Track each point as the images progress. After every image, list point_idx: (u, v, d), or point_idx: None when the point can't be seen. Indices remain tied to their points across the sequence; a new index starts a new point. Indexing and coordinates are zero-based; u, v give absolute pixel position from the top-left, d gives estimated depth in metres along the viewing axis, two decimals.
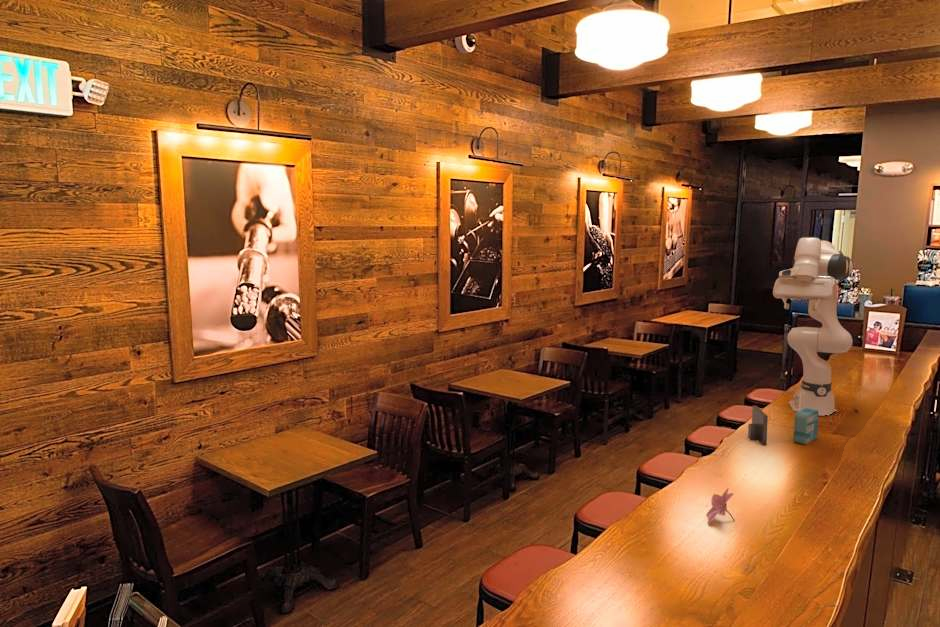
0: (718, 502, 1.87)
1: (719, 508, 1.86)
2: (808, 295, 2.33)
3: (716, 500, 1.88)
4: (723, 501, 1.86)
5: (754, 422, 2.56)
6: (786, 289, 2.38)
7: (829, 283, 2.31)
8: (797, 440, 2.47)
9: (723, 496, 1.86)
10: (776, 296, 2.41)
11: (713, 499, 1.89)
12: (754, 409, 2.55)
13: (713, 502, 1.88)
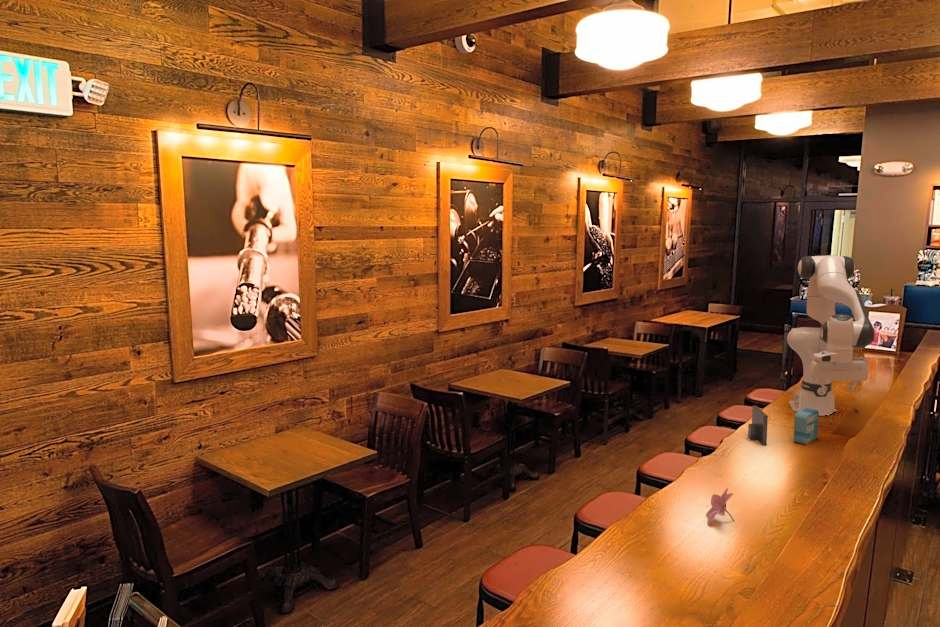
0: (717, 502, 1.87)
1: (719, 508, 1.86)
2: (846, 379, 2.42)
3: (715, 500, 1.88)
4: (723, 501, 1.86)
5: (754, 422, 2.56)
6: (825, 374, 2.43)
7: (865, 367, 2.40)
8: (797, 440, 2.47)
9: (722, 496, 1.86)
10: None
11: (712, 499, 1.89)
12: (754, 409, 2.55)
13: (712, 502, 1.88)
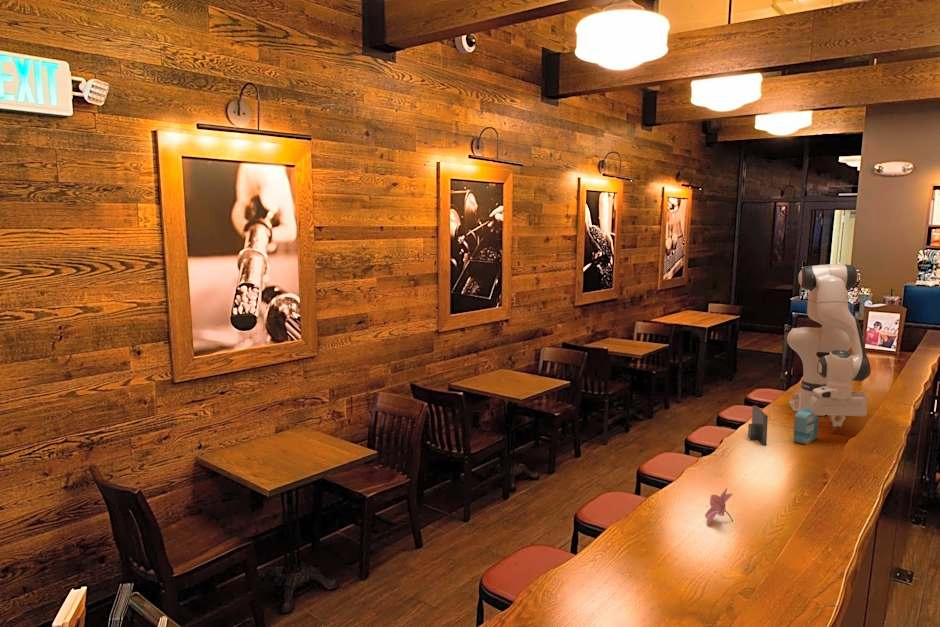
0: (717, 502, 1.87)
1: (718, 508, 1.86)
2: (846, 414, 2.45)
3: (714, 500, 1.88)
4: (722, 501, 1.85)
5: (754, 422, 2.56)
6: (825, 409, 2.45)
7: (864, 403, 2.43)
8: (797, 440, 2.47)
9: (722, 496, 1.86)
10: None
11: (711, 500, 1.89)
12: (754, 409, 2.55)
13: (712, 502, 1.88)
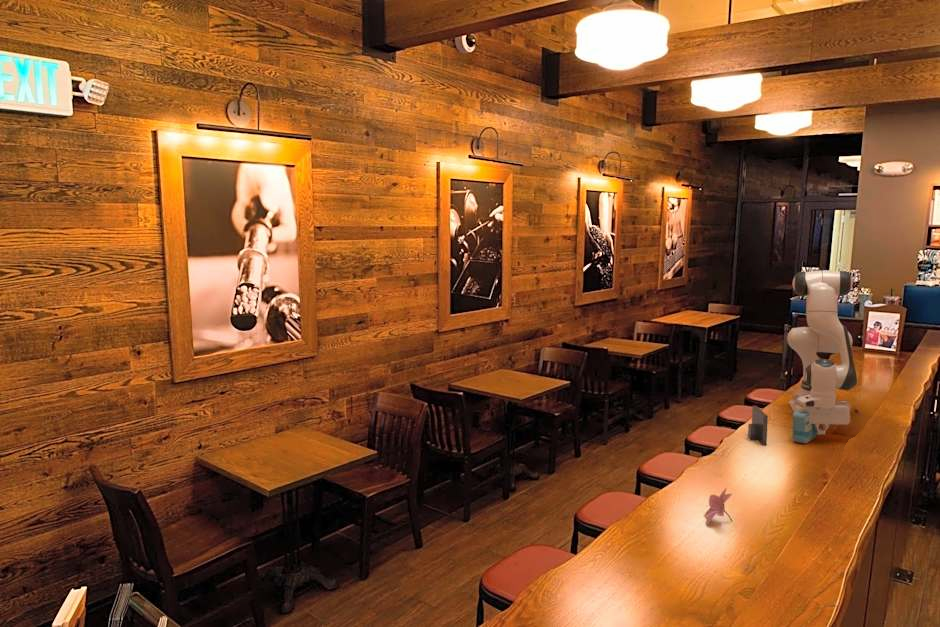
0: (716, 503, 1.87)
1: (717, 509, 1.86)
2: (829, 423, 2.46)
3: (714, 500, 1.88)
4: (721, 502, 1.85)
5: (754, 422, 2.56)
6: (809, 418, 2.47)
7: (847, 411, 2.45)
8: (797, 440, 2.47)
9: (721, 497, 1.86)
10: None
11: (710, 500, 1.89)
12: (754, 409, 2.55)
13: (711, 503, 1.88)
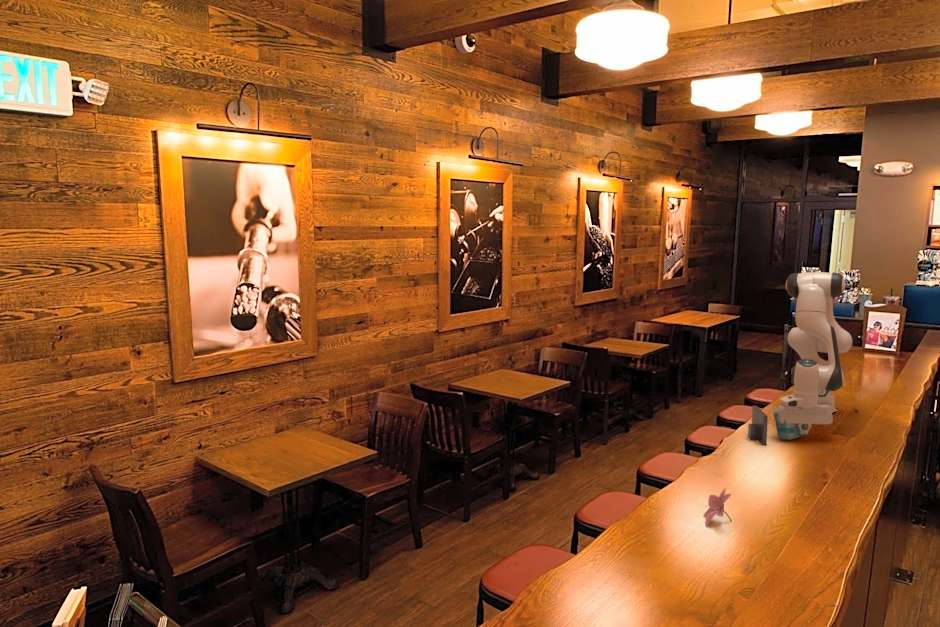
0: (715, 503, 1.86)
1: (716, 509, 1.85)
2: (812, 423, 2.47)
3: (713, 500, 1.88)
4: (720, 502, 1.85)
5: (754, 422, 2.56)
6: (792, 418, 2.48)
7: (829, 411, 2.45)
8: (781, 436, 2.50)
9: (720, 497, 1.86)
10: None
11: (710, 500, 1.89)
12: (754, 409, 2.55)
13: (710, 503, 1.88)
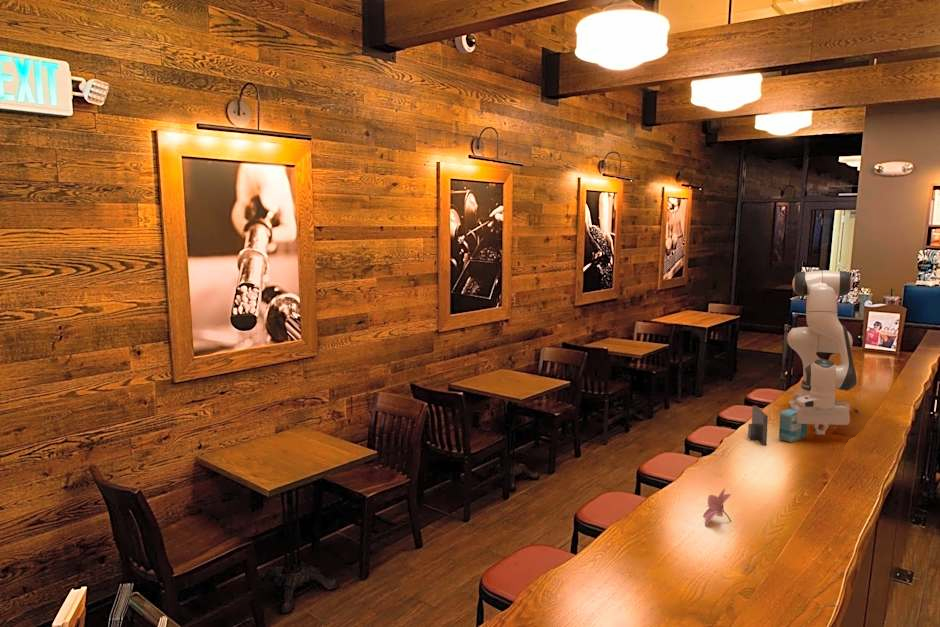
0: (715, 503, 1.86)
1: (716, 509, 1.85)
2: (828, 423, 2.46)
3: (712, 500, 1.87)
4: (720, 502, 1.85)
5: (754, 422, 2.56)
6: (808, 418, 2.47)
7: (846, 412, 2.45)
8: (782, 438, 2.50)
9: (720, 497, 1.86)
10: None
11: (709, 500, 1.89)
12: (754, 409, 2.55)
13: (709, 503, 1.88)
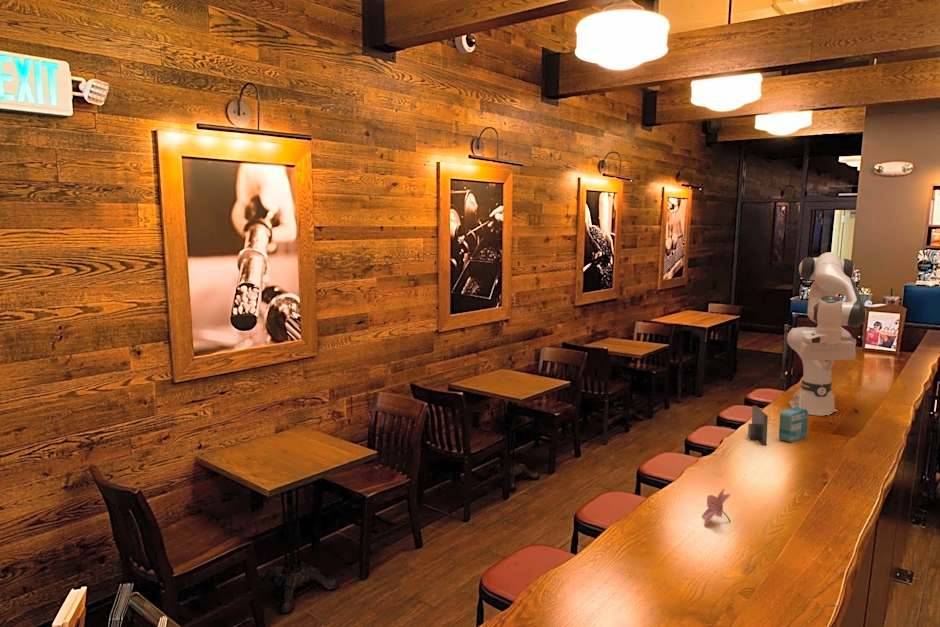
0: (714, 503, 1.86)
1: (715, 509, 1.85)
2: (835, 359, 2.49)
3: (711, 501, 1.87)
4: (719, 502, 1.85)
5: (754, 422, 2.56)
6: (815, 354, 2.50)
7: (853, 347, 2.47)
8: (782, 438, 2.50)
9: (719, 497, 1.86)
10: None
11: (708, 500, 1.89)
12: (754, 409, 2.55)
13: (709, 503, 1.88)
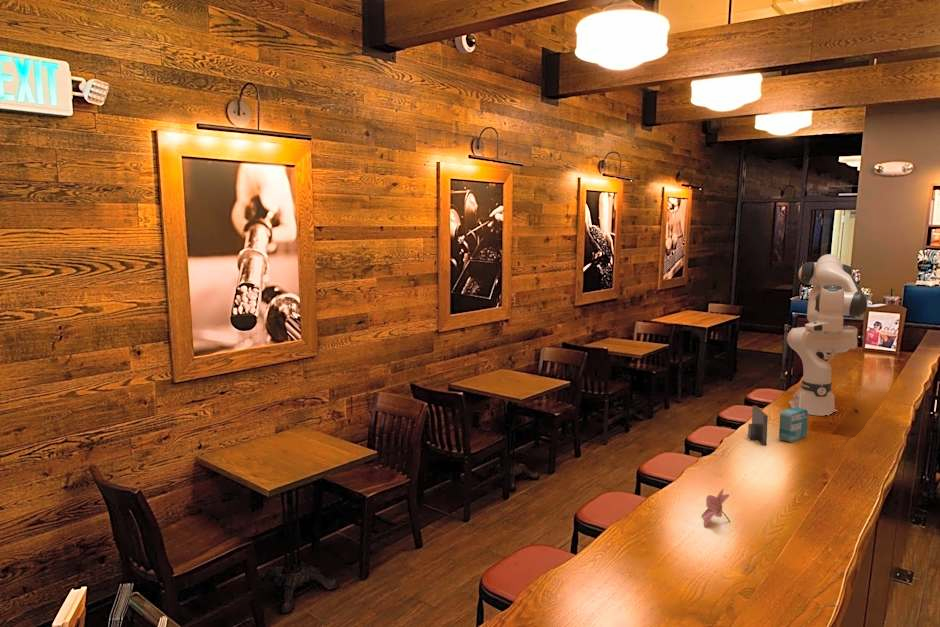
0: (713, 503, 1.86)
1: (714, 509, 1.85)
2: (837, 347, 2.51)
3: (711, 501, 1.87)
4: (718, 502, 1.85)
5: (754, 422, 2.56)
6: (817, 342, 2.52)
7: (854, 335, 2.50)
8: (782, 438, 2.50)
9: (718, 497, 1.86)
10: None
11: (708, 501, 1.89)
12: (754, 409, 2.55)
13: (708, 503, 1.88)
